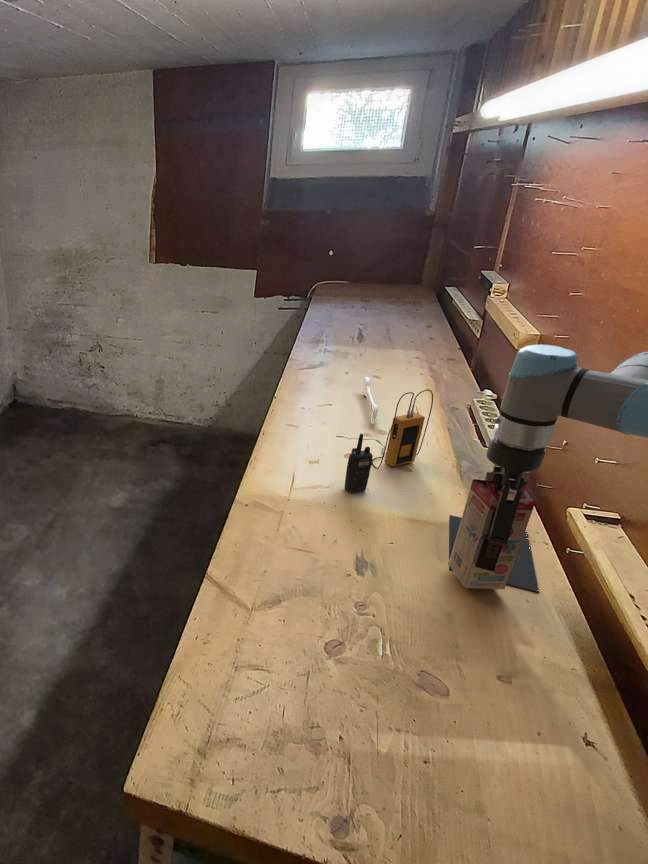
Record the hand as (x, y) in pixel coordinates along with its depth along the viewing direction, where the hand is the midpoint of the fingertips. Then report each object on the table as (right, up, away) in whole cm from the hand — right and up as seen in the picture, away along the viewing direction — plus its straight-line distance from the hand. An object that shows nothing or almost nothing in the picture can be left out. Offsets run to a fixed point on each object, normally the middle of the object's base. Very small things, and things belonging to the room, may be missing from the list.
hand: (483, 552), depth 101 cm
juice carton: (0, -5, +2) cm, 6 cm away
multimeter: (+6, +15, +46) cm, 49 cm away
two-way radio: (-9, +8, +33) cm, 35 cm away
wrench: (+16, +35, +75) cm, 85 cm away
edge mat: (+9, -2, +11) cm, 14 cm away
